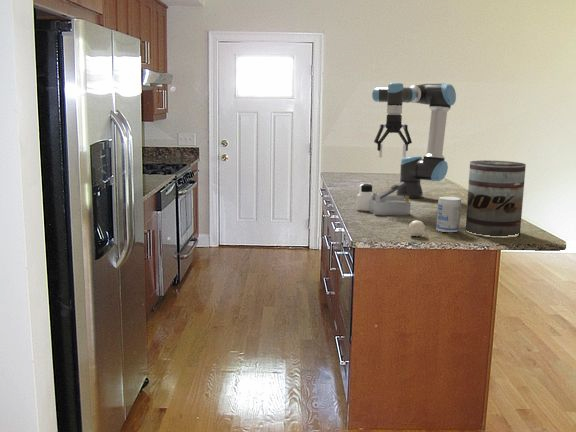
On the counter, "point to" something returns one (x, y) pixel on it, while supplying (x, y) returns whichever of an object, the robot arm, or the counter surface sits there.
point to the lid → (392, 189)
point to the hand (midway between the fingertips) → (392, 157)
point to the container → (364, 197)
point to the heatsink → (389, 205)
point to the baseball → (416, 228)
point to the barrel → (495, 197)
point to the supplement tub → (448, 214)
